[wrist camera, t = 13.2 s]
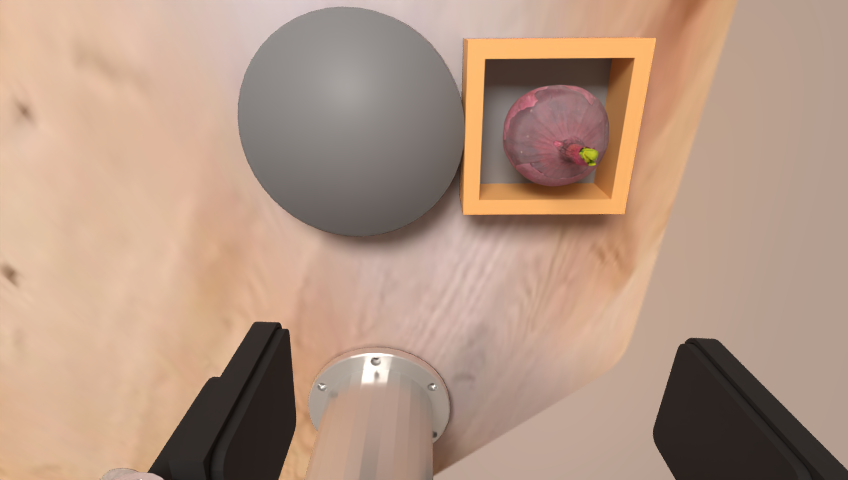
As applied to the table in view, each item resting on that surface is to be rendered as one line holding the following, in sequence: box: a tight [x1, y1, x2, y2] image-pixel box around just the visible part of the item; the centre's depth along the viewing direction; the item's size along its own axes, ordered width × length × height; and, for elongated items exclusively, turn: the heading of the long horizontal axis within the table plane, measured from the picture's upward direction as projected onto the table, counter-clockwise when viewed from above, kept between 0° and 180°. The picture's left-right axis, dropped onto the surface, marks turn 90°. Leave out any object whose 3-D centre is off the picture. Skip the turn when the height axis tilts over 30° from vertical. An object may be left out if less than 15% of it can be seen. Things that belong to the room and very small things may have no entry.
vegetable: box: [503, 85, 609, 186], centre depth 27 cm, size 6×6×10 cm
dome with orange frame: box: [238, 7, 656, 236], centre depth 30 cm, size 14×24×4 cm, turn 91°
